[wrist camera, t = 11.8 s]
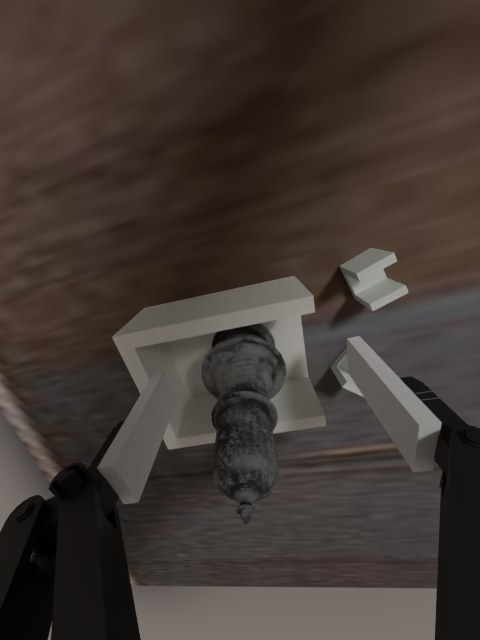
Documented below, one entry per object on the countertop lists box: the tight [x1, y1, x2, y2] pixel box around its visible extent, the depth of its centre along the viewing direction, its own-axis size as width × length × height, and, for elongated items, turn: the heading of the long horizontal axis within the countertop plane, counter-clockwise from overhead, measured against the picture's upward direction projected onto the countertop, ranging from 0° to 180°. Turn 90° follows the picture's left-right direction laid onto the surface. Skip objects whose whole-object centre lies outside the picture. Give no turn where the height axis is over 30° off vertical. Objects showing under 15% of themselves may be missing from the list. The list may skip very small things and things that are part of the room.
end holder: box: [112, 276, 326, 450], centre depth 17 cm, size 10×12×5 cm
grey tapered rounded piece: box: [201, 323, 287, 524], centre depth 13 cm, size 6×6×12 cm
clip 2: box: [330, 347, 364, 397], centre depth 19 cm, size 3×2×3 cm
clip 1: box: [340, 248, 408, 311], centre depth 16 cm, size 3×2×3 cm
